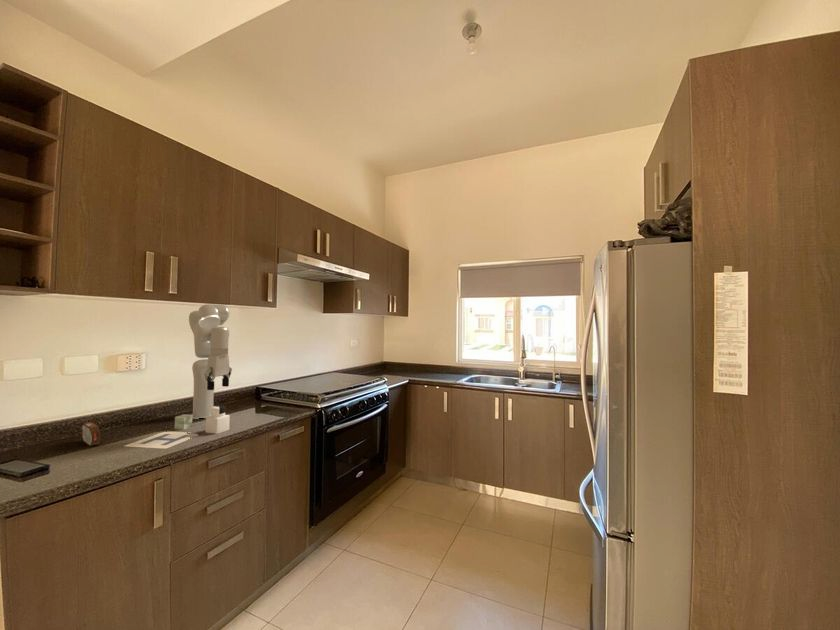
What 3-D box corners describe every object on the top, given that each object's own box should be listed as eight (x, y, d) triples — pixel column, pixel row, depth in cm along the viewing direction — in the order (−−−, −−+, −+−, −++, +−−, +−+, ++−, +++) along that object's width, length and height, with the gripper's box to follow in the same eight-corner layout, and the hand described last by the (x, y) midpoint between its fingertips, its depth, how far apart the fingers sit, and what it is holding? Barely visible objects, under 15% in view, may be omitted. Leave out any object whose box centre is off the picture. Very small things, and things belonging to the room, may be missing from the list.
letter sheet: (165, 431, 159) (165, 431, 159) (203, 433, 156) (203, 433, 156) (123, 446, 139) (123, 446, 139) (166, 448, 136) (166, 448, 136)
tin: (100, 446, 139) (101, 425, 139) (90, 448, 136) (91, 427, 137) (90, 439, 147) (91, 420, 148) (80, 441, 145) (81, 421, 145)
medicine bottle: (218, 428, 164) (219, 403, 165) (229, 429, 162) (230, 405, 163) (205, 432, 157) (205, 407, 158) (216, 434, 155) (217, 408, 156)
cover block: (182, 426, 167) (183, 414, 167) (192, 427, 166) (192, 414, 167) (174, 429, 162) (174, 417, 162) (183, 430, 162) (184, 417, 162)
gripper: (224, 351, 170) (223, 385, 169) (198, 353, 153) (197, 391, 152) (238, 351, 169) (237, 385, 169) (213, 353, 152) (211, 391, 151)
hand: (218, 388), depth 160 cm, fingers open, 9 cm apart
